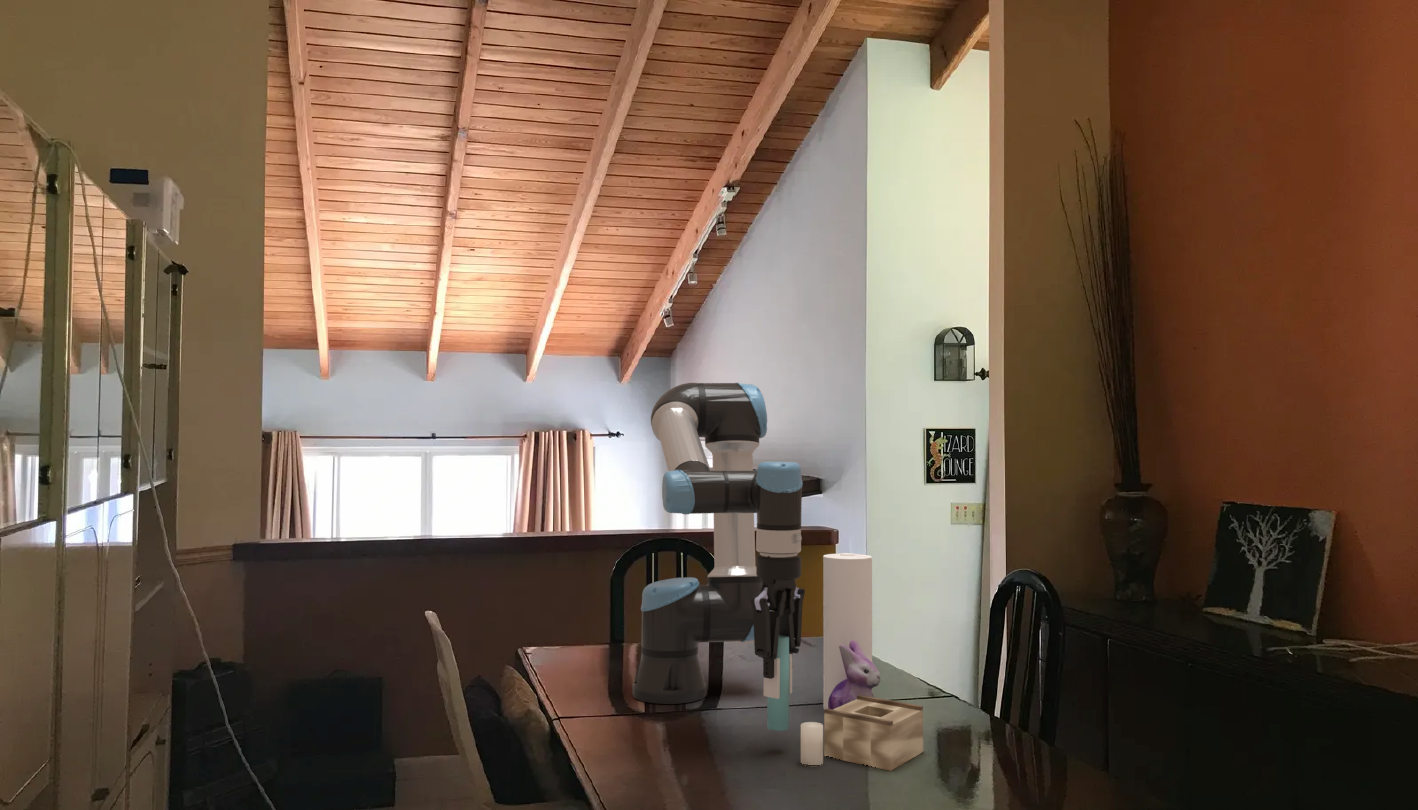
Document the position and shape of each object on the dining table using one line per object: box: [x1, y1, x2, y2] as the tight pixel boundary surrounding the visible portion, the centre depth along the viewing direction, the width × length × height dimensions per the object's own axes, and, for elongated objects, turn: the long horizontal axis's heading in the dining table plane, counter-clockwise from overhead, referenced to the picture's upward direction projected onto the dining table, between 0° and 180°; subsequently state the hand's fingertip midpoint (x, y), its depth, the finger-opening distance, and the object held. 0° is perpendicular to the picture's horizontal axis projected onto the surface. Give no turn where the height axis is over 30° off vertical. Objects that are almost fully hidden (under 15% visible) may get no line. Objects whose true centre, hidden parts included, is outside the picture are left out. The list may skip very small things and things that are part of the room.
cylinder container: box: [822, 552, 873, 710], centre depth 191 cm, size 9×9×30 cm
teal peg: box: [766, 635, 790, 732], centre depth 164 cm, size 4×4×15 cm
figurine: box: [828, 640, 881, 710], centre depth 181 cm, size 9×10×15 cm
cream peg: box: [800, 721, 824, 766], centre depth 159 cm, size 4×4×6 cm
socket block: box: [823, 695, 924, 772], centre depth 163 cm, size 12×12×8 cm
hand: (777, 694), depth 164 cm, fingers closed on teal peg, 3 cm apart
